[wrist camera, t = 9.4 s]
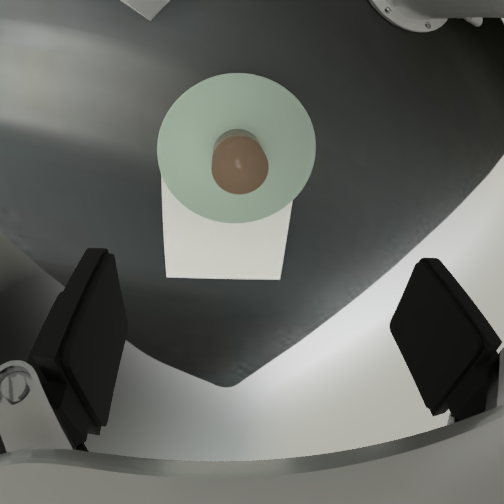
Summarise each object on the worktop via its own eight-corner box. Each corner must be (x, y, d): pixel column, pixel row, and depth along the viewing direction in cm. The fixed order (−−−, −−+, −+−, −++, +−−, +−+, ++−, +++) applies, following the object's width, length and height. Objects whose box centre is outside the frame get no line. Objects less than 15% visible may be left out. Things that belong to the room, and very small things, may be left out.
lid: (321, 81, 22) (344, 85, 17) (302, 219, 28) (316, 250, 24) (159, 72, 20) (144, 74, 16) (162, 217, 27) (151, 248, 22)
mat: (296, 170, 36) (296, 171, 35) (279, 277, 44) (279, 279, 43) (161, 164, 34) (161, 166, 34) (166, 275, 42) (166, 277, 42)
